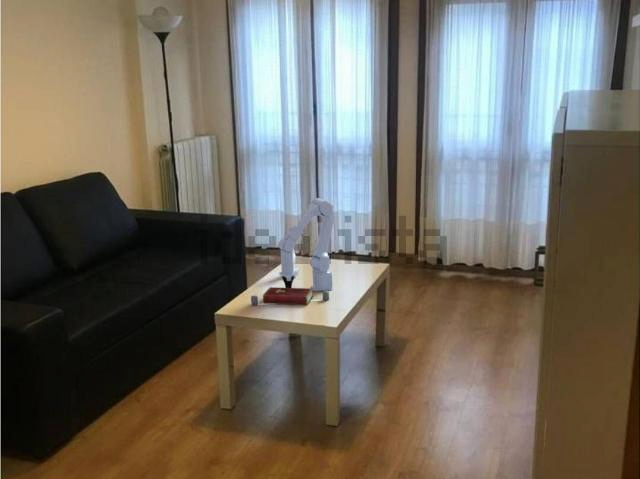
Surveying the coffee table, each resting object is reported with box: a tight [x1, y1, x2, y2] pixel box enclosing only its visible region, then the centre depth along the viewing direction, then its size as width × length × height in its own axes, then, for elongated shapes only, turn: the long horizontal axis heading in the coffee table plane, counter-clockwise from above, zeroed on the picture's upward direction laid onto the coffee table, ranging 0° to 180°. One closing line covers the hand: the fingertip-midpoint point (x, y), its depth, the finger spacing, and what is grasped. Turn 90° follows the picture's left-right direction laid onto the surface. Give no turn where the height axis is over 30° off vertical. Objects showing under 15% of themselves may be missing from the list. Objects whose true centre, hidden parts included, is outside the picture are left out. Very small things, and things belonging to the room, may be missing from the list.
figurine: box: [293, 248, 301, 278], centre depth 340 cm, size 7×9×15 cm
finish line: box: [250, 290, 330, 307], centre depth 302 cm, size 36×3×4 cm, turn 97°
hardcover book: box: [262, 286, 314, 306], centre depth 305 cm, size 12×21×4 cm, turn 78°
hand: (288, 290), depth 313 cm, fingers closed
